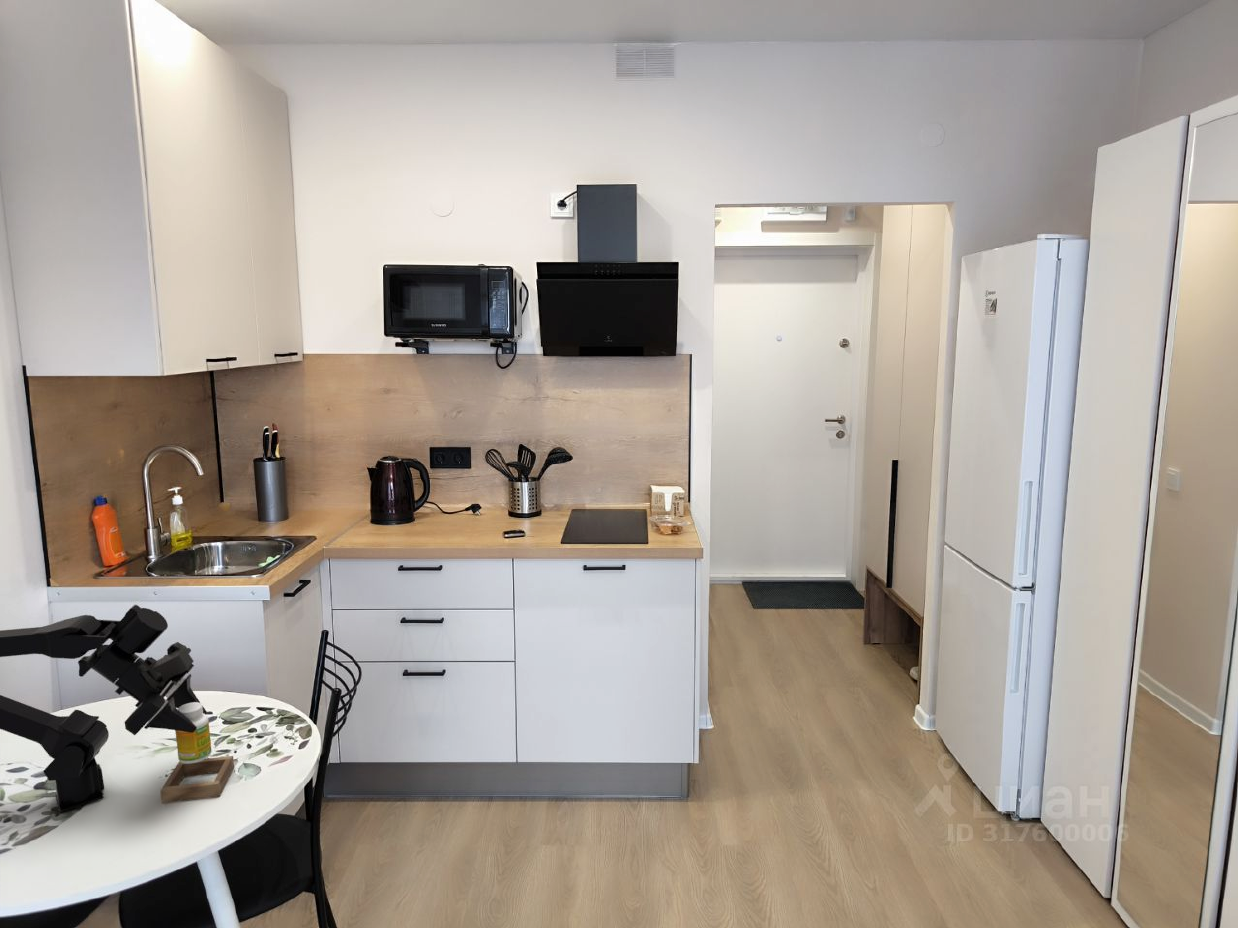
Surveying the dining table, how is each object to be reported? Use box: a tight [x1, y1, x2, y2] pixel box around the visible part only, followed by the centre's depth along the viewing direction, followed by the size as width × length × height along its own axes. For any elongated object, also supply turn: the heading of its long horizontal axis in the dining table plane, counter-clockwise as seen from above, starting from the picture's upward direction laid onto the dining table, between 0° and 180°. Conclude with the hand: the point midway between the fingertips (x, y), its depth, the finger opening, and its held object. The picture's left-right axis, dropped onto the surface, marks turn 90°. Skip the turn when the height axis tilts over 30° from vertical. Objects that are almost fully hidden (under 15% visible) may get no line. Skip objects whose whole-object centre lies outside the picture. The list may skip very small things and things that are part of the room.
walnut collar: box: [160, 755, 235, 804], centre depth 147 cm, size 10×10×2 cm
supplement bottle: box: [174, 702, 212, 764], centre depth 146 cm, size 5×5×10 cm
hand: (200, 722), depth 146 cm, fingers closed on supplement bottle, 5 cm apart
